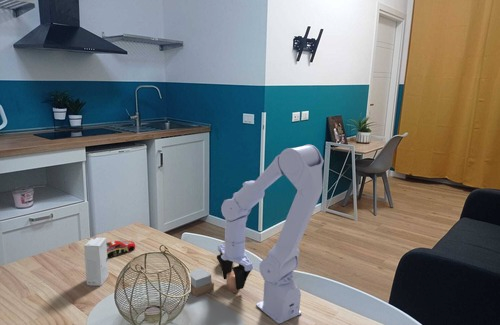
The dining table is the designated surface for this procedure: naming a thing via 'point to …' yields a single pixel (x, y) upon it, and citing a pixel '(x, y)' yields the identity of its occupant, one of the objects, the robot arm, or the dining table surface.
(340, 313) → the dining table surface
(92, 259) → the skincare box
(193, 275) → the grey slab
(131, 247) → the race car
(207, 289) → the walnut slab
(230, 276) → the copper rounded cylinder
